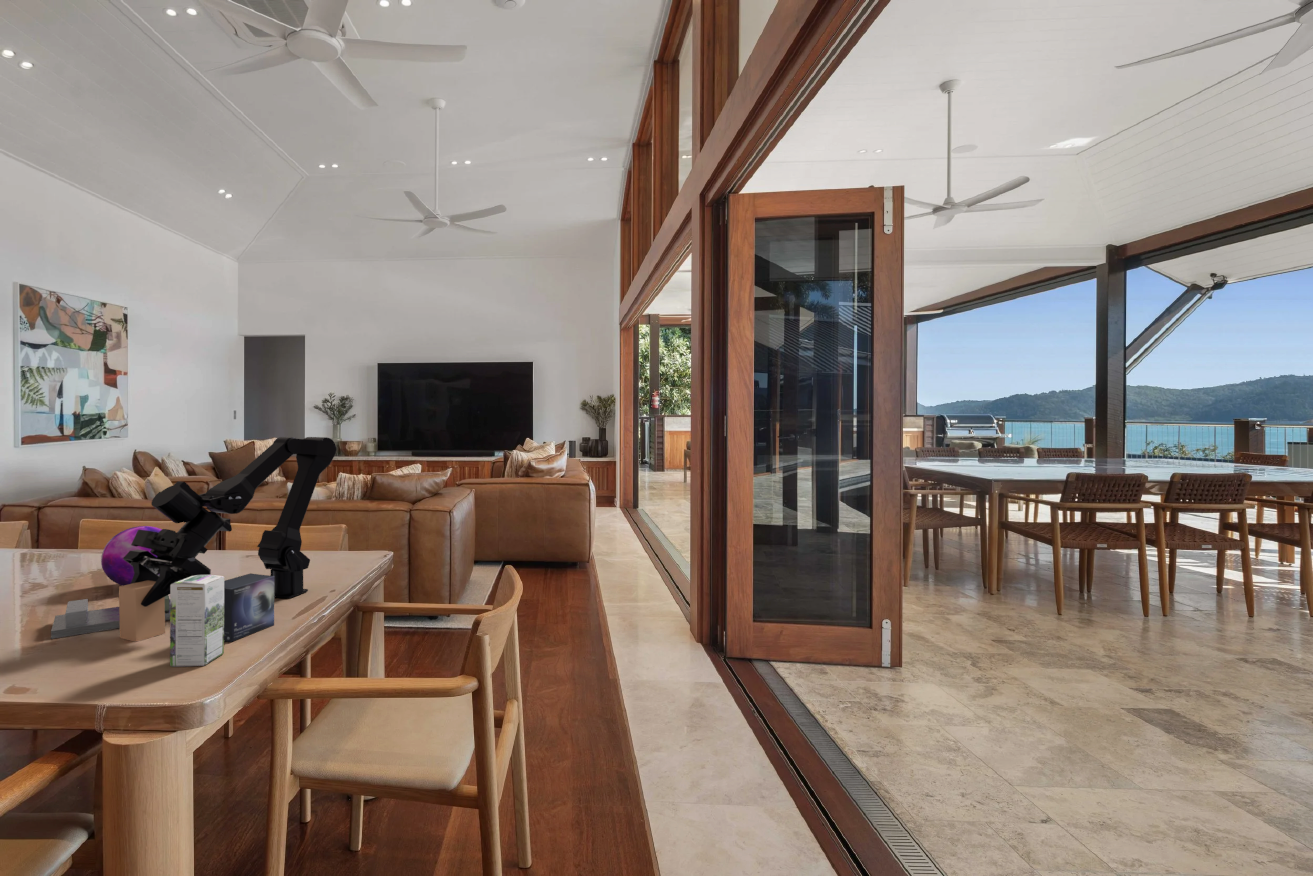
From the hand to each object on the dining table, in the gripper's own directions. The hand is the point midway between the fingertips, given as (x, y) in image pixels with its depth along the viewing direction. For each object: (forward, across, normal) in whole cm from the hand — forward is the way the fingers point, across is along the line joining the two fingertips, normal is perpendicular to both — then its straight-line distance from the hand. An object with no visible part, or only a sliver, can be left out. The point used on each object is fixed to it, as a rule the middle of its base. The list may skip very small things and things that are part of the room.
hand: (134, 604), depth 121 cm
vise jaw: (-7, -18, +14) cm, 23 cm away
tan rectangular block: (+4, 0, +6) cm, 7 cm away
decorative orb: (-12, -39, +21) cm, 46 cm away
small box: (-2, +15, +12) cm, 20 cm away
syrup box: (+7, +22, +3) cm, 24 cm away
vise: (0, -14, +9) cm, 16 cm away
